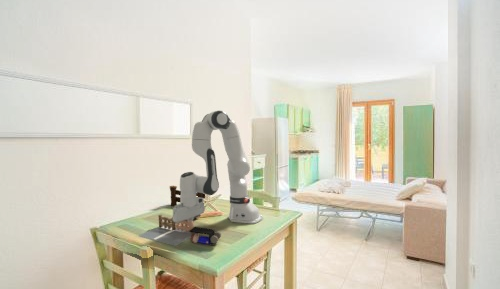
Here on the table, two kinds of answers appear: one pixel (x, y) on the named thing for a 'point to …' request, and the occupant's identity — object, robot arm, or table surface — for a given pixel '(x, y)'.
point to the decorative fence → (177, 192)
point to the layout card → (167, 235)
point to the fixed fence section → (166, 222)
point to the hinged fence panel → (186, 228)
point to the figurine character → (204, 239)
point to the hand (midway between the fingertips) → (189, 225)
